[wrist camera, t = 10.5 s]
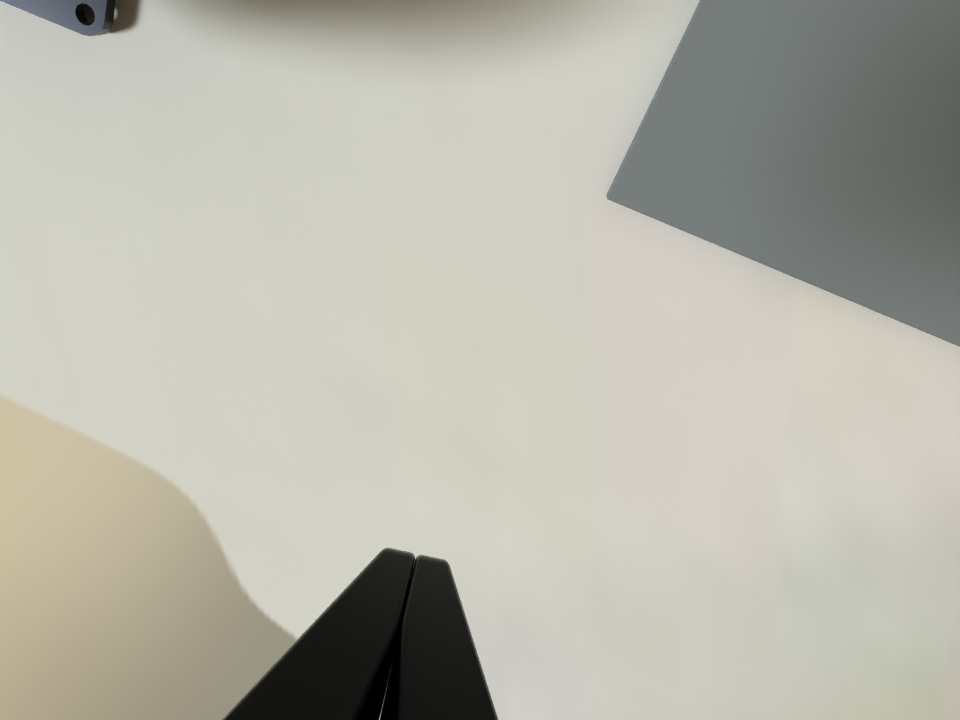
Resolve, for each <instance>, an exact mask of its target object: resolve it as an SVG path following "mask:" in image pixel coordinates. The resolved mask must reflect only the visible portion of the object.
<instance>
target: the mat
mask: <svg viewBox="0 0 960 720" xmlns="http://www.w3.org/2000/svg"><path fill="white" fill-rule="evenodd" d="M607 199H609V200H611V201H613V202H616V203H618V204H621V205H623V206H625V207H628V208H630V209H633V210H635V211H637V212H640V213H642V214H644V215H647V216H649V217H652V218H654V219H656V220H659V221H661V222H664V223H666V224H668V225H671V226H673V227H676V228H678V229H680V230H683V231H685V232H687V233H690V234H692V235H695V236H697V237H699V238H702V239H704V240H707V241H709V242H711V243H714V244H716V245H719V246H721V247H723V248H726V249H728V250H730V251H733V252H735V253H738V254H740V255H742V256H745V257H747V258H750V259H752V260H754V261H757V262H759V263H761V264H764V265H766V266H769V267H771V268H773V269H776V270H778V271H781V272H783V273H785V274H788V275H790V276H793V277H795V278H797V279H800V280H802V281H804V282H807V283H809V284H812V285H814V286H816V287H819V288H821V289H824V290H826V291H828V292H831V293H833V294H836V295H838V296H840V297H843V298H845V299H847V300H850V301H852V302H855V303H857V304H859V305H862V306H864V307H867V308H869V309H871V310H874V311H876V312H878V313H881V314H883V315H886V316H888V317H890V318H893V319H895V320H898V321H900V322H902V323H905V324H907V325H910V326H912V327H914V328H917V329H919V330H921V331H924V332H926V333H929V334H931V335H933V336H936V337H938V338H941V339H943V340H945V341H948V342H950V343H952V344H955V345H957V346H960V0H700V2H699V4H698V6H697V8H696V11H695V13H694V15H693V17H692V19H691V21H690V23H689V25H688V27H687V29H686V31H685V33H684V35H683V38H682V40H681V42H680V44H679V46H678V48H677V50H676V52H675V54H674V56H673V58H672V60H671V62H670V65H669V67H668V69H667V71H666V73H665V75H664V77H663V79H662V81H661V83H660V85H659V87H658V90H657V92H656V94H655V96H654V98H653V100H652V102H651V104H650V106H649V108H648V110H647V112H646V114H645V117H644V119H643V121H642V123H641V125H640V127H639V129H638V131H637V133H636V135H635V137H634V139H633V141H632V144H631V146H630V148H629V150H628V152H627V154H626V156H625V158H624V160H623V162H622V164H621V166H620V168H619V171H618V173H617V175H616V177H615V179H614V181H613V183H612V185H611V187H610V189H609V191H608V193H607Z"/></svg>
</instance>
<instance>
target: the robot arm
mask: <svg viewBox="0 0 960 720" xmlns="http://www.w3.org/2000/svg"><path fill="white" fill-rule="evenodd" d="M0 1H3V2H5V3H7V4H10V5H12V6H15V7H17V8H20V9H22V10H24V11H27V12H29V13H32V14H34V15H37V16H39V17H41V18H44V19H46V20H49V21H51V22H54V23H56V24H59V25H61V26H63V27H66V28H68V29H71V30H73V31H76V32H78V33H80V34H83V35H88V36H98V35H103V34H106V33H107V32H108V31H109V30H110V29H111V26H112V23H113V17H114V9H115V1H116V0H0ZM86 5H89V6H90V7H91V8H92V10H93V11H94V14H95V20H94V23H93V24H92V23H90V22H89V21H88V20H87V18H86V17H85V11H84V10H85V7H86ZM414 562H415V563H414ZM413 567H414V568H413ZM412 571H413V572H412ZM410 580H411V581H410ZM389 674H390V675H389ZM387 683H388V684H387ZM386 688H387V689H386ZM385 692H386V693H385ZM384 697H385V698H384ZM383 701H384V703H383ZM382 705H383V707H382ZM381 710H382V712H381ZM380 714H381V717H380ZM379 718H380V720H498V718H497V714H496V711H495V708H494V705H493V702H492V699H491V695H490V692H489V689H488V686H487V683H486V680H485V676H484V673H483V670H482V667H481V664H480V660H479V657H478V654H477V651H476V648H475V645H474V641H473V638H472V635H471V632H470V629H469V626H468V622H467V619H466V616H465V613H464V610H463V607H462V603H461V600H460V597H459V594H458V591H457V588H456V584H455V581H454V578H453V575H452V572H451V569H450V566H449V564H448V562H447V561H446V560H443V559H438V558H434V557H429V556H424V555H419V556H418V557H417V558H416V560H415V556H414V555H413V553H410V552H406V551H401V550H396V549H392V548H385V549H383V550H382V551H381V552H380V553H379V554H378V555H377V556H376V557H375V558H374V559H373V560H372V561H371V562H370V563H369V564H368V566H367V567H366V568H365V569H364V570H363V571H362V572H361V573H360V574H359V575H358V576H357V577H356V578H355V579H354V580H353V581H352V582H351V584H350V585H349V586H348V587H347V588H346V589H345V590H344V591H343V592H342V593H341V594H340V595H339V596H338V597H337V598H336V599H335V601H334V602H333V603H332V604H331V605H330V606H329V607H328V608H327V609H326V610H325V611H324V612H323V613H322V614H321V615H320V616H319V617H318V619H317V620H316V621H315V622H314V623H313V624H312V625H311V626H310V627H309V628H308V629H307V630H306V631H305V632H304V633H303V634H302V636H301V637H300V638H299V639H298V640H297V641H296V642H295V643H294V644H293V645H292V646H291V647H290V648H289V650H287V651H286V652H285V654H284V655H283V656H282V657H281V658H280V659H279V660H278V661H277V662H276V663H275V664H274V665H273V666H272V667H271V668H270V669H269V671H268V672H267V673H266V674H265V675H264V676H263V677H262V678H261V679H260V680H259V681H258V682H257V683H256V684H255V686H253V687H252V689H251V690H250V691H249V692H248V693H247V694H246V695H245V696H244V697H243V698H242V699H241V700H240V701H239V703H237V704H236V706H235V707H234V708H233V709H232V710H231V711H230V712H229V713H228V714H227V715H226V716H225V717H224V718H223V720H379Z"/></svg>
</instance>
